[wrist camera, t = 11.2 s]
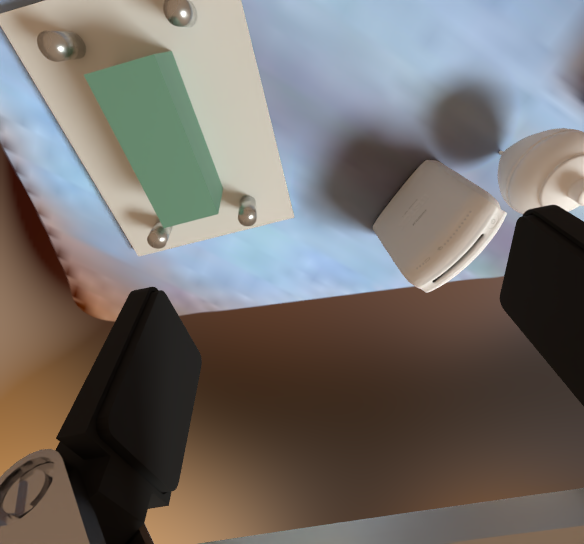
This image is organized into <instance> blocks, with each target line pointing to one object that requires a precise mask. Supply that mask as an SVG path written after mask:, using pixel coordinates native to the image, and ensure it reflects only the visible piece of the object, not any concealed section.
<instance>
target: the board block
mask: <svg viewBox="0 0 584 544" xmlns="http://www.w3.org/2000/svg"><path fill="white" fill-rule="evenodd" d="M84 77H85V79H86V81H87V83H88V84H89V86H90V88H91V90H92V92H93V94H94V96H95V98H96V100H97V102H98V104H99V105H100V107H101V109H102V111H103V113H104V115H105V117H106V119H107V121H108V123H109V125H110V126H111V128H112V130H113V132H114V134H115V136H116V138H117V140H118V142H119V144H120V146H121V148H122V149H123V151H124V153H125V155H126V157H127V159H128V161H129V163H130V165H131V167H132V169H133V170H134V172H135V174H136V176H137V178H138V180H139V182H140V184H141V186H142V188H143V190H144V192H145V193H146V195H147V197H148V199H149V201H150V203H151V205H152V207H153V209H154V211H155V213H156V214H157V216H158V218H159V220H160V222H161V224H162V226H163V228H167V227H171V226H175V225H179V224H182V223H186V222H190V221H194V220H198V219H201V218H205V217H209V216H213V215H217V214H218V213H219V208H220V202H221V197H222V192H223V187H222V184H221V181H220V179H219V176H218V173H217V171H216V168H215V165H214V163H213V160H212V157H211V155H210V152H209V149H208V147H207V144H206V141H205V139H204V136H203V133H202V131H201V128H200V125H199V122H198V120H197V117H196V114H195V112H194V109H193V106H192V104H191V101H190V98H189V96H188V93H187V90H186V88H185V85H184V82H183V80H182V77H181V74H180V72H179V69H178V66H177V64H176V61H175V58H174V56H173V53H172V51H169V52H163V53H157V54H153V55H149V56H146V57H142V58H139V59H136V60H132V61H129V62H125V63H122V64H119V65H115V66H112V67H108V68H105V69H101V70H98V71H95V72H91V73H88V74H84Z"/></svg>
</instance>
